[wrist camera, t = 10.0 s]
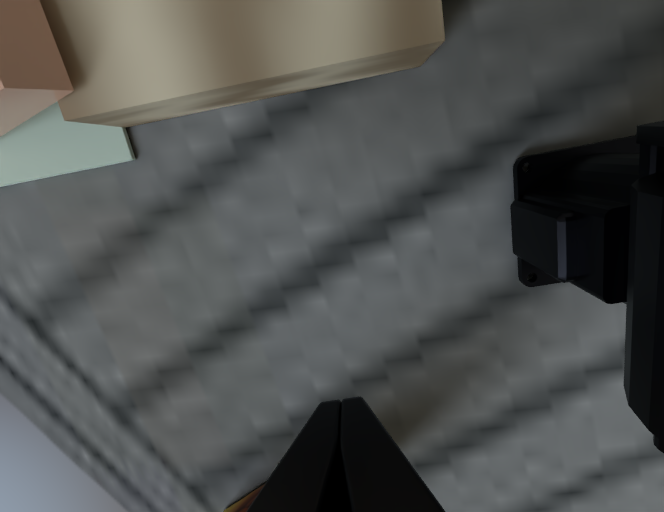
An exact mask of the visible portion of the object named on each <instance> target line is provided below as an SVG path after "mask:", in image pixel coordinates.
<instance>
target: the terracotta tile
mask: <svg viewBox="0 0 664 512" xmlns="http://www.w3.org/2000/svg"><path fill="white" fill-rule="evenodd" d="M73 91H74V89H73V87H72V84H71V82H70V79H69V76H68V74H67V71H66V68H65V66H64V63H63V61H62V58H61V55H60V53H59V50H58V47H57V45H56V42H55V40H54V37H53V34H52V32H51V29H50V27H49V24H48V21H47V19H46V16H45V13H44V11H43V8H42V6H41V3H40V0H0V137H1V136H3V135H4V134H6V133H7V132H9V131H11V130H12V129H14V128H15V127H17V126H19V125H20V124H22V123H23V122H25V121H27V120H28V119H30V118H31V117H33V116H34V115H36V114H38V113H39V112H41V111H42V110H44V109H46V108H47V107H49V106H50V105H52V104H54V103H55V102H57V101H58V100H60V99H62V98H63V97H65V96H66V95H68V94H70V93H71V92H73Z"/></svg>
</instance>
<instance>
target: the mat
mask: <svg viewBox="0 0 664 512" xmlns="http://www.w3.org/2000/svg"><path fill="white" fill-rule="evenodd" d="M132 160H136V159H135V156H134V153H133V150H132V146H131V143H130V140H129V137H128V134H127V131H126V128H124V127H115V126H106V125H97V124H88V123H79V122H70V121H64V118H63V115H62V113H61V110H60V107H59V104H58V102H55V103H54V104H52V105H50V106H49V107H47V108H46V109H44V110H42V111H41V112H39V113H38V114H36V115H34V116H33V117H31V118H30V119H28V120H27V121H25V122H23V123H22V124H20V125H19V126H17V127H15V128H14V129H12V130H11V131H9V132H7V133H6V134H4V135H3V136H1V137H0V187H3V186H8V185H13V184H18V183H23V182H28V181H33V180H38V179H43V178H48V177H53V176H58V175H63V174H68V173H73V172H78V171H83V170H88V169H93V168H98V167H103V166H108V165H112V164H117V163H122V162H127V161H132Z"/></svg>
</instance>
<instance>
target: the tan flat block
mask: <svg viewBox="0 0 664 512" xmlns="http://www.w3.org/2000/svg"><path fill="white" fill-rule="evenodd" d="M40 3H41V6H42V8H43V11H44V13H45V16H46V19H47V21H48V24H49V27H50V29H51V32H52V34H53V37H54V40H55V42H56V45H57V47H58V50H59V53H60V55H61V58H62V61H63V63H64V66H65V68H66V71H67V74H68V76H69V79H70V82H71V84H72V87H73V89H74V91H73V92H71V93H70V94H68V95H66V96H65V97H63V98H62V99H60V100H58V101H57V102H58V104H59V107H60V110H61V113H62V115H63V118H64V121H70V122H79V123H88V124H97V125H106V126H115V127H124V128H126V127H131V126H136V125H141V124H146V123H150V122H155V121H160V120H165V119H170V118H175V117H179V116H184V115H189V114H194V113H199V112H203V111H208V110H213V109H218V108H223V107H228V106H232V105H237V104H242V103H247V102H252V101H256V100H261V99H266V98H271V97H276V96H281V95H285V94H290V93H295V92H300V91H305V90H309V89H314V88H319V87H324V86H329V85H334V84H338V83H343V82H348V81H353V80H358V79H362V78H367V77H372V76H377V75H382V74H387V73H391V72H396V71H401V70H406V69H411V68H415V67H420V66H421V65H422V64H423V63H424V62H425V61H426V60H427V59H428V58H429V57H430V56H431V55H432V54H433V53H434V52H435V50H436V49H437V48H438V47H439V46H440V45H441V44H442V43H443V42H444V41H445V33H444V22H443V12H442V1H441V0H40Z"/></svg>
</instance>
